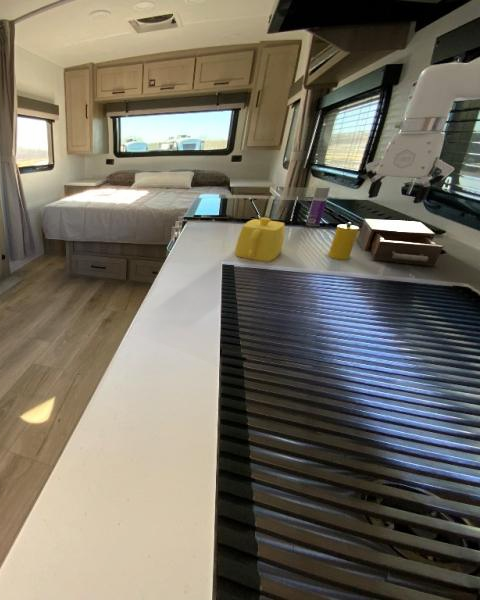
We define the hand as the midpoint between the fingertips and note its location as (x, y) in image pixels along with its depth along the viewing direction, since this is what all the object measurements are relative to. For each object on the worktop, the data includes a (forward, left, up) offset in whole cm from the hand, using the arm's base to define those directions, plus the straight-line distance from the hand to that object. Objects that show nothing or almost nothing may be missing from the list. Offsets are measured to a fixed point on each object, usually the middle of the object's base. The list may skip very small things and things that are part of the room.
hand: (394, 199), depth 87 cm
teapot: (+29, -2, -19) cm, 35 cm away
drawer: (-8, -10, -18) cm, 22 cm away
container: (+12, -48, -19) cm, 53 cm away
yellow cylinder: (+7, -6, -19) cm, 21 cm away
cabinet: (-8, -23, -19) cm, 31 cm away
